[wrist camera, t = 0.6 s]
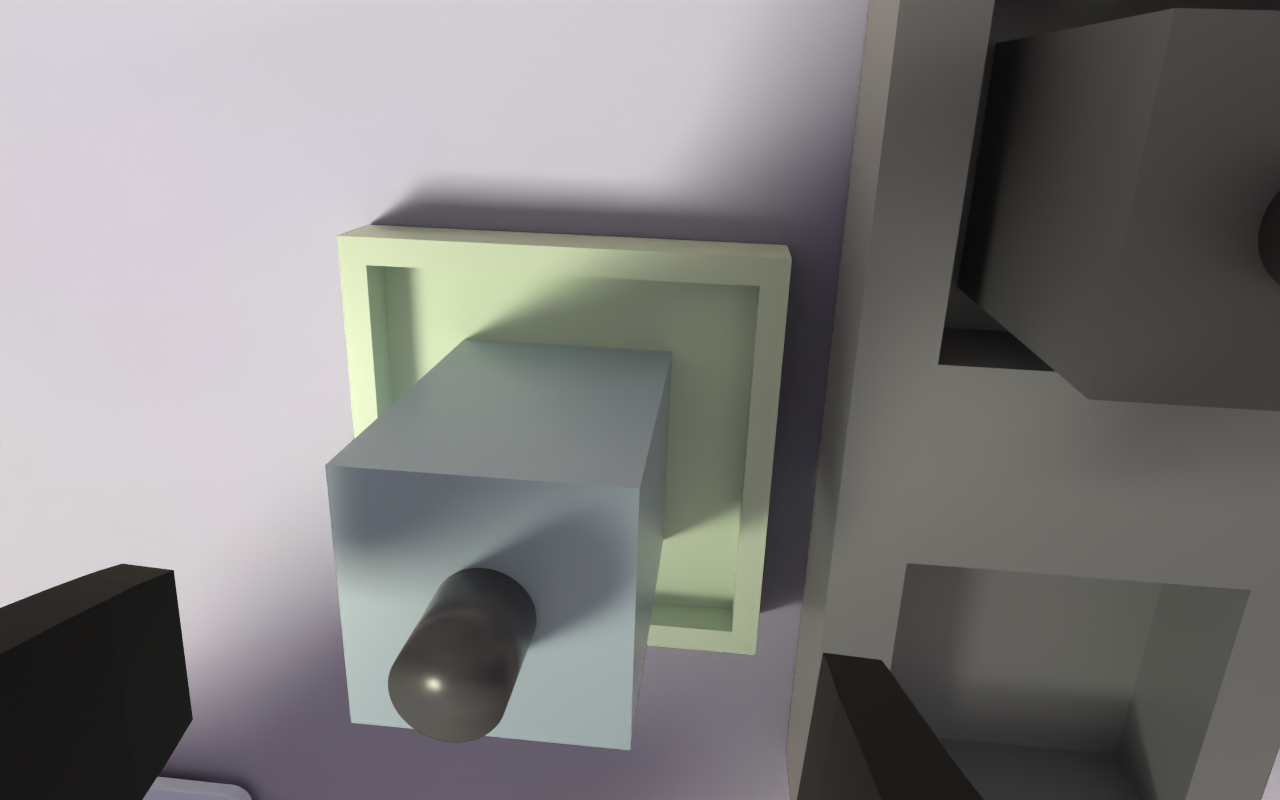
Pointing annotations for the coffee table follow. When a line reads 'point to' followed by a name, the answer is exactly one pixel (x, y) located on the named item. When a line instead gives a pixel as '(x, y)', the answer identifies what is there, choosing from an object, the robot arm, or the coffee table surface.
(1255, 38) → the twin plug
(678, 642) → the tray
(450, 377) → the plug
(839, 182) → the coffee table surface
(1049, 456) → the power strip
